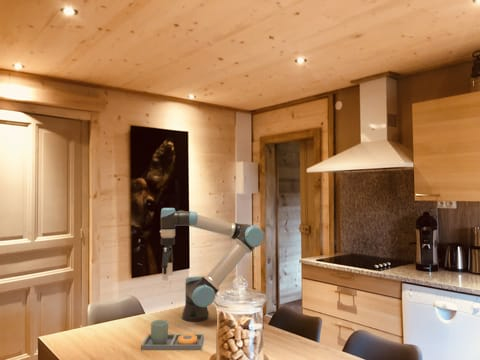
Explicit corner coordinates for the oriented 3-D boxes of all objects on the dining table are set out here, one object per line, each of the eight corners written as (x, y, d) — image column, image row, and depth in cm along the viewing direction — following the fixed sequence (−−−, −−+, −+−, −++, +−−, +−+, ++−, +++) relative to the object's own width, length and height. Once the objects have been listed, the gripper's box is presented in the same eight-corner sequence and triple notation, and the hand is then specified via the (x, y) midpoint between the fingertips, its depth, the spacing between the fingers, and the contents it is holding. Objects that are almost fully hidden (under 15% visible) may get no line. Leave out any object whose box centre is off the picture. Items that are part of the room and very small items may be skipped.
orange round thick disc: (190, 339, 187) (190, 332, 188) (200, 344, 181) (200, 337, 181) (174, 343, 182) (174, 336, 182) (184, 349, 175) (184, 342, 175)
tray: (203, 339, 188) (203, 334, 188) (200, 351, 174) (200, 345, 174) (148, 339, 188) (148, 334, 188) (140, 351, 174) (140, 345, 174)
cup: (171, 343, 182) (171, 321, 183) (160, 348, 176) (160, 326, 176) (159, 339, 186) (159, 318, 187) (147, 345, 180) (147, 323, 180)
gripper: (165, 234, 218) (164, 272, 217) (155, 239, 193) (155, 282, 192) (178, 234, 218) (178, 272, 217) (170, 239, 193) (170, 282, 192)
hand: (167, 277), depth 205 cm, fingers open, 13 cm apart
